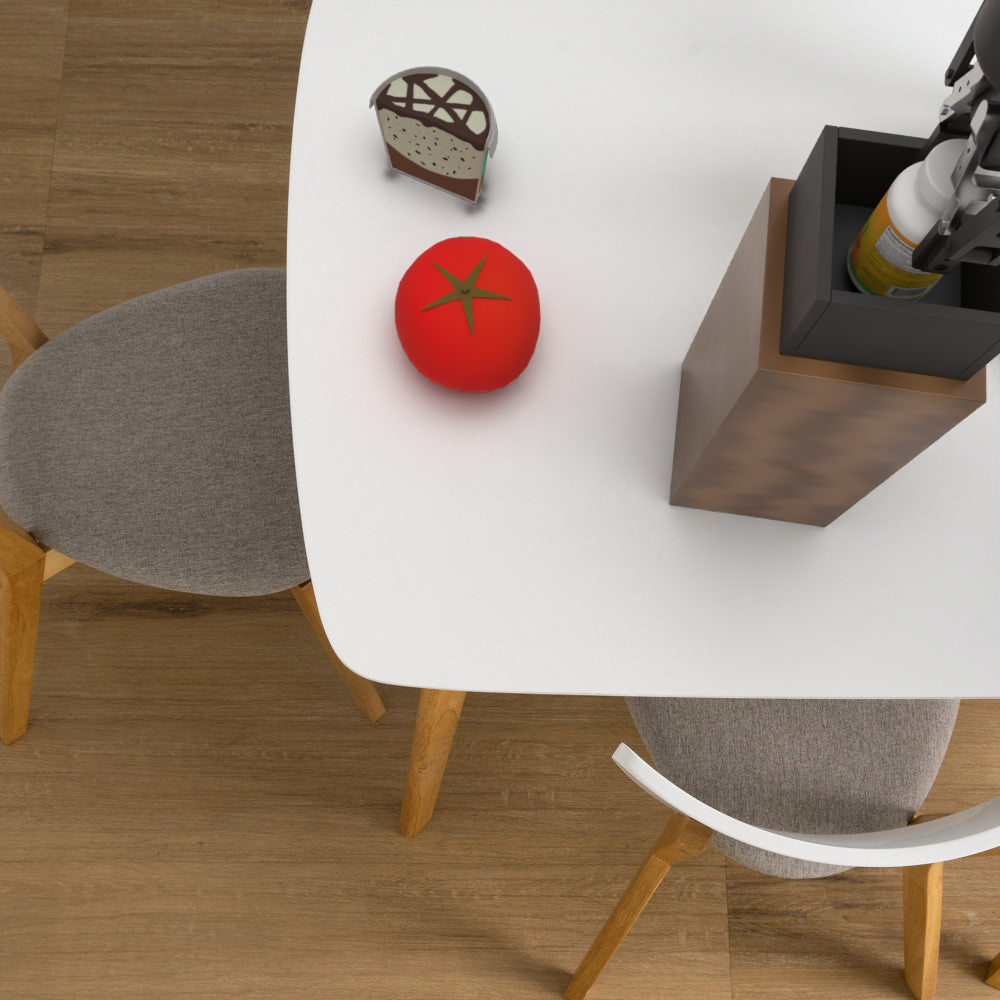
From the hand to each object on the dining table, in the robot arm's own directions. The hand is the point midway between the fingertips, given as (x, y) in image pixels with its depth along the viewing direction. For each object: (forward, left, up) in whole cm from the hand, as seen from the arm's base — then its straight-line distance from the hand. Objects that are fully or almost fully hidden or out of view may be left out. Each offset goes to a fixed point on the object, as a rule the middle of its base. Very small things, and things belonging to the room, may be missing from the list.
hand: (929, 217), depth 54 cm
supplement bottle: (0, 0, -6) cm, 6 cm away
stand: (0, 0, -35) cm, 35 cm away
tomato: (+27, -6, -36) cm, 45 cm away
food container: (+32, -25, -36) cm, 54 cm away
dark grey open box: (0, 0, -7) cm, 7 cm away
